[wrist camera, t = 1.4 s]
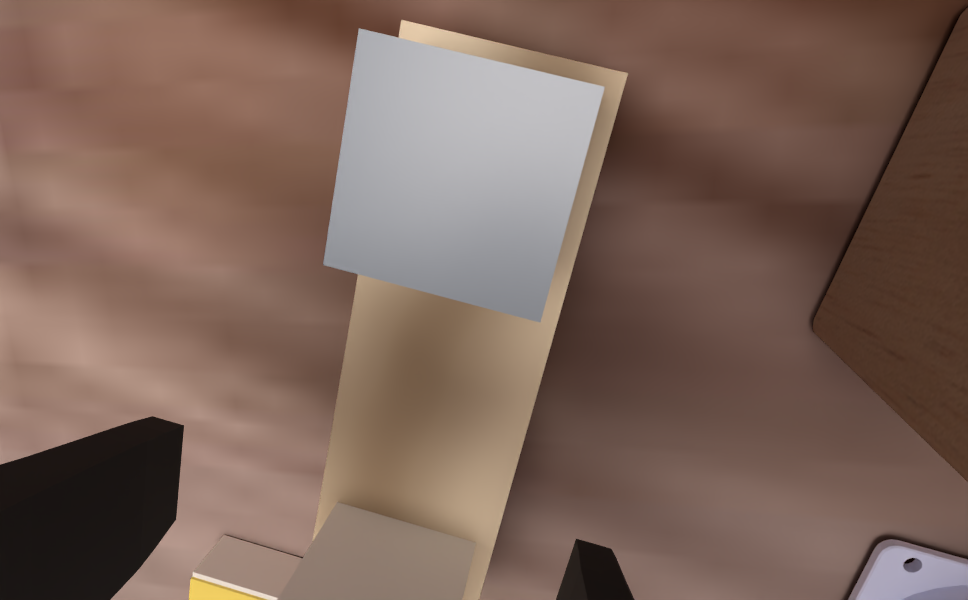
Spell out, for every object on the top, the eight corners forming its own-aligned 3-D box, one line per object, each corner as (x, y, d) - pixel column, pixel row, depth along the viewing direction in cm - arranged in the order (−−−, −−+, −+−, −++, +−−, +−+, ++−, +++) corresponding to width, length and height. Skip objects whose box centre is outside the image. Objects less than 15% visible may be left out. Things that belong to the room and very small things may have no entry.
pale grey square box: (598, 92, 14) (604, 87, 10) (550, 267, 15) (540, 322, 11) (419, 49, 14) (358, 28, 10) (387, 225, 15) (323, 265, 11)
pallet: (617, 80, 17) (628, 73, 13) (479, 575, 23) (459, 670, 19) (440, 38, 18) (401, 19, 14) (345, 535, 23) (299, 620, 19)
